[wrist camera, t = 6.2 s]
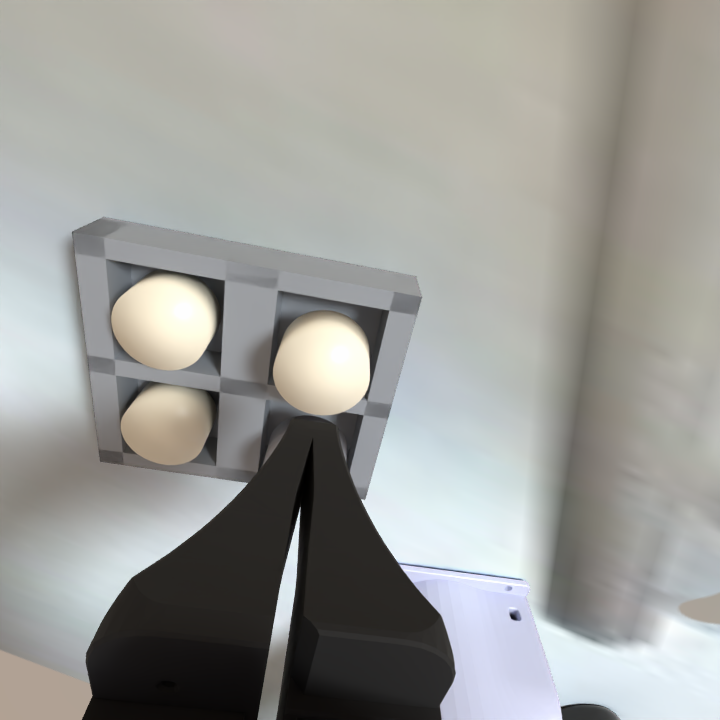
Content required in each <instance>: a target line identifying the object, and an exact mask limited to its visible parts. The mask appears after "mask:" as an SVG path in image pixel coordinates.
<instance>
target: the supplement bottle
mask: <svg viewBox="0 0 720 720" xmlns="http://www.w3.org/2000/svg"><path fill="white" fill-rule="evenodd" d="M561 713H562V720H620V718H619V717H618V716H617V715H616V714H615V713H614V712H613V711H611V710H609V709H607V708H605V707H601V706H596V705H574V706H568V707H564V708H561Z"/></svg>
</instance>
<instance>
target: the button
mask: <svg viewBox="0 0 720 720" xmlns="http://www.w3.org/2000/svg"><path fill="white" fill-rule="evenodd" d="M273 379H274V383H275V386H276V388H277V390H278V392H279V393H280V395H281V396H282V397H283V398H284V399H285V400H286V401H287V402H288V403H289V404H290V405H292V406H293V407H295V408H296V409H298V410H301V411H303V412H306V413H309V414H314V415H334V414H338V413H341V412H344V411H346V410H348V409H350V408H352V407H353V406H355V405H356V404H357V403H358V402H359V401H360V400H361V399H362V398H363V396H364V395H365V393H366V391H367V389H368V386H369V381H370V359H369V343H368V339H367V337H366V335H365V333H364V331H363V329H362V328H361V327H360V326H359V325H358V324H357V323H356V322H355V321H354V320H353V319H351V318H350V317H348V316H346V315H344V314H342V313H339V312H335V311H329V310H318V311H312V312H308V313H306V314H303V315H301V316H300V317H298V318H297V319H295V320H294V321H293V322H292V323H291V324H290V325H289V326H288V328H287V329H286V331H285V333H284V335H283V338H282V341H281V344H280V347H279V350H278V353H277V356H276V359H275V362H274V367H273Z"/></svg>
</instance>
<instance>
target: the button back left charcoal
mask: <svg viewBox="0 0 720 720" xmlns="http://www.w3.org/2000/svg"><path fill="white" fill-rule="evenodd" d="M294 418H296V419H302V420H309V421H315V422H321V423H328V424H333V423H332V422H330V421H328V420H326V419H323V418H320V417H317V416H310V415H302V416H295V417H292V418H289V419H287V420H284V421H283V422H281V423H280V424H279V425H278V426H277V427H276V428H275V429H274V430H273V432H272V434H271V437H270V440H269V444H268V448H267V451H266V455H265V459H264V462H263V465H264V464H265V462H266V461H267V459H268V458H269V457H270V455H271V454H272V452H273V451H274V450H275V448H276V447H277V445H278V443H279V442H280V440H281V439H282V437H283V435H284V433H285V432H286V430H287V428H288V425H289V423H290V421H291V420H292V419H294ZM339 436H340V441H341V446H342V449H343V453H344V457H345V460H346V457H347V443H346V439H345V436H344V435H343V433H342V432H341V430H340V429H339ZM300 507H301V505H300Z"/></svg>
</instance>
